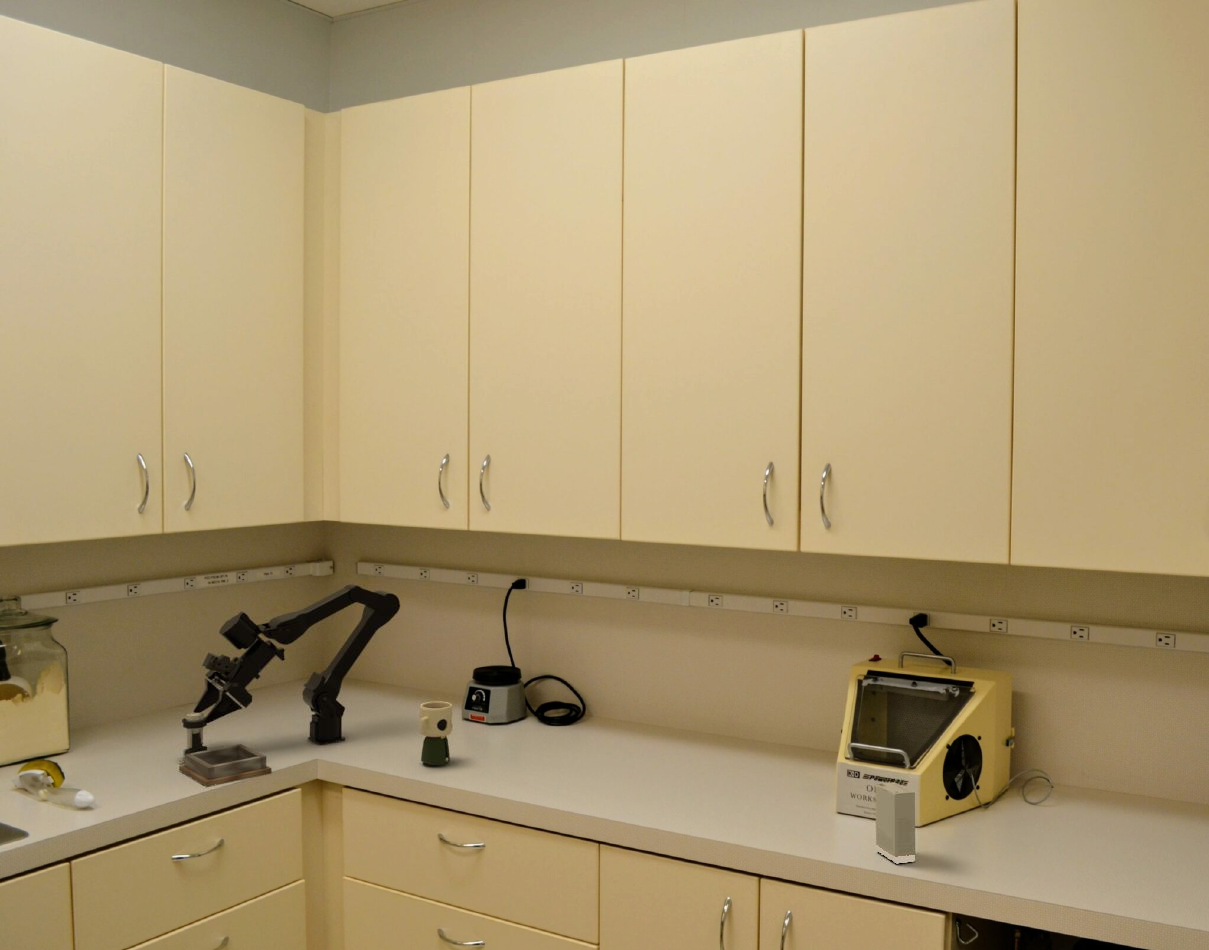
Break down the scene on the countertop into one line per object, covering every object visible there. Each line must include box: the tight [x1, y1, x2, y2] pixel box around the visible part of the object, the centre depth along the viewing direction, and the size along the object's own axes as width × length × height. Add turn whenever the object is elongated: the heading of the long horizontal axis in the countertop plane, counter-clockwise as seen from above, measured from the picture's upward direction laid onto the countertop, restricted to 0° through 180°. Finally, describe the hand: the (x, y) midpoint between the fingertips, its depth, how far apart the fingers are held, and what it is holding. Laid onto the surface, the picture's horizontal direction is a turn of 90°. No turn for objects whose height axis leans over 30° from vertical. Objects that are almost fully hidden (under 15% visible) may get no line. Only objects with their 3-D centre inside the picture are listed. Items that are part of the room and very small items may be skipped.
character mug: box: [419, 700, 453, 766], centre depth 226 cm, size 11×7×13 cm, turn 154°
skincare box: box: [874, 781, 916, 857], centre depth 177 cm, size 6×4×12 cm
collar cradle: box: [178, 743, 273, 787], centre depth 218 cm, size 14×14×4 cm
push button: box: [178, 712, 208, 763], centre depth 226 cm, size 7×5×10 cm
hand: (200, 717), depth 227 cm, fingers open, 9 cm apart
